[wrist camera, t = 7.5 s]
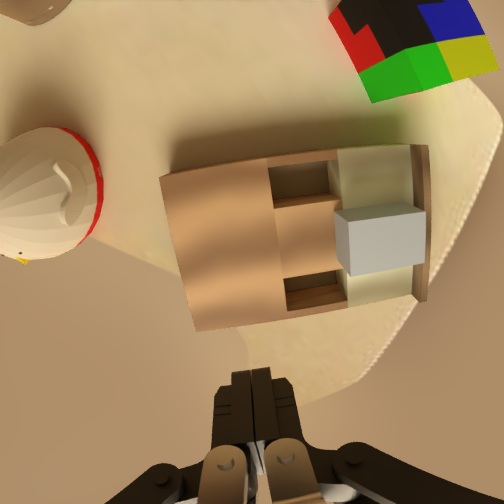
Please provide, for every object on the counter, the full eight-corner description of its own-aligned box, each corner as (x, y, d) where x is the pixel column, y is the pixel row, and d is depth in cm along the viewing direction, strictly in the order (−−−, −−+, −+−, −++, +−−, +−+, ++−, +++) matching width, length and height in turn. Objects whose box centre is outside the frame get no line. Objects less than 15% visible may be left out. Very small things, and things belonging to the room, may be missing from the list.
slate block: (333, 210, 26) (348, 222, 23) (403, 202, 26) (425, 211, 23) (336, 259, 28) (350, 277, 24) (404, 248, 28) (424, 262, 24)
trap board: (169, 173, 29) (152, 180, 23) (397, 143, 28) (428, 145, 23) (200, 311, 34) (193, 343, 28) (401, 277, 33) (426, 301, 28)
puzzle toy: (402, 3, 23) (449, -30, 13) (441, 80, 26) (499, 69, 17) (328, 18, 24) (361, -25, 15) (371, 103, 27) (423, 90, 18)
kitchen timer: (20, 253, 31) (-59, 308, 17) (3, 143, 26) (-90, 158, 12) (113, 245, 31) (38, 315, 17) (97, 114, 27) (1, 104, 12)
